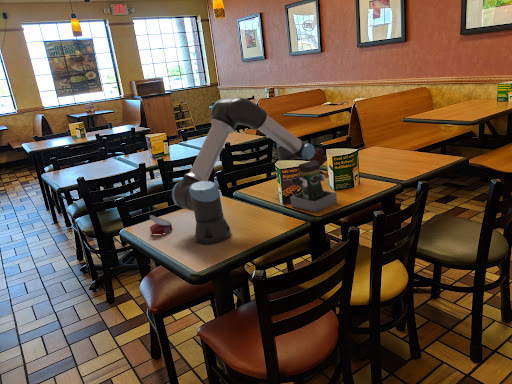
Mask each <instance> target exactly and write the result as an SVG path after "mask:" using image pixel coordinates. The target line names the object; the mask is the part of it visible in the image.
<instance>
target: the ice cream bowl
mask: <svg viewBox="0 0 512 384" xmlns="http://www.w3.org/2000/svg"><path fill="white" fill-rule="evenodd" d="M314 149H315V153H314V156H313V157H312V158H311V159H307V162H309V161H313V160H314V161H318V162H319V165H320V167H321V166H322V165H324V164H325V163H326V162H327V156H326V155H324V154H325V152H324V150H323V148H320V147H316V148H314ZM320 171H322V170H320Z"/></svg>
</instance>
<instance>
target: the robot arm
mask: <svg viewBox="0 0 512 384" xmlns="http://www.w3.org/2000/svg"><path fill="white" fill-rule="evenodd" d="M210 114H211V116H210V117H211V119H210V121H209V122H210V124H211V126H210V129H209V130H208V133H207V135H206V137H205V140H204V141H203V143H202V145H201V148H200V149H199V152H198V154H197V156H196V158H195V160H194V162H193V165H192V167H191V168H190V170H189V172H188V173H185V174H184V175H183V178H182V179H181V181H178V182H177V183H175V184H174V186H173V187H172V190H171V197H172V200H173V202H174V204H175V205H176V206H178V207H180V208H181V209H185V210H187V211H191V212H193V214H194V217H195V222H196V223H195V232H194V239H195V242H196V243H198V244H199V243H200V245H212V244H217V243H221V242H223V241H226V240H227V239H228V238H230V237H231V235H232V231H231V227H230V225H229V224H228V222H227V220H226V219H225V216H224V211H223V205H222V201H221V195H220V194H221V193H220V190H219V186H218V184H217V183H215V182H213V181H210V180H209V178H210V175H211V174H212V171H213V169H214V167H215V165H216V163H217V160H218V158H219V156H220V154H221V152H222V150H223V148H224V146H225V144H226V141H227V139H228V137H229V135H230V134H233V133H234V132H235V131H236V128H237V126H239V125H242V126H246V127H248V128H249V127H250V128H251V129H252V130H254V131H255V130H257V131H259V132H260V133H261V134H264V135H265V136H266V137H268V138H269V139H271V140H272V141H274V142H275V143H276V149H277V155H278V161H279V160H294V161H295V159H298V160H299V159H300V160H302V159H303V160H308V159H311V158H312V157H313V156H314V153H315V149H316V148H315V146H314V145H313V144H312V143H308V142H306V143H305V142H304V141H303V140H301V139H300V138H298V137H297V136H296V135H295V134H293V133H292V132H290V131H289V130H287V129H286V128H285V127H284V126H283V125H281V124H280V123H278V122H277V121H276V120H274V119H273V118H272V117H271V116H269V115H268V113H267V111H266V110H265V109H263V108H262V107H260V106H259V105H258V104H256V103H255V102H253V101H251V100H249V99H247V98H245V97H234V98H227V97H226V98H222V99H219V100H217V101H216V102H214V103H213V104H212V106H211V109H210ZM320 179H321V182H326V175H324V170H323V171H322V170H321V171H320ZM290 182H291V184H293V185H295V184H296V185H297V186H299V185H301V186H302V185H304V186H308V185H307V180H305V179H303V178H299V175H297V176H296V179H295V178H294V177H291V181H290Z"/></svg>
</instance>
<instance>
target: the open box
mask: <svg viewBox="0 0 512 384" xmlns="http://www.w3.org/2000/svg"><path fill="white" fill-rule="evenodd" d="M323 193H324V197H323V198H321V199H319V200H316V201H312V200H307V199H303V193H301V192H298V193H296V194H294V195H291V196H290V198H289V199H290V206H291V208H294V207H296V208H295V209H298V208H301V209H300V210H302V209H305V210H304V211H307V210H310V211H309V212H311V211H314V212H313V213H315V212H317V213H319V212H321V211H323V210H325V209H327V208H329V206H330V207H332V206H334V205H337V203H338V197H337V192H336V191H335V192H334V191H328V190H323ZM331 205H332V206H331ZM322 209H323V210H322ZM320 210H321V211H320ZM318 211H319V212H318Z"/></svg>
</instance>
